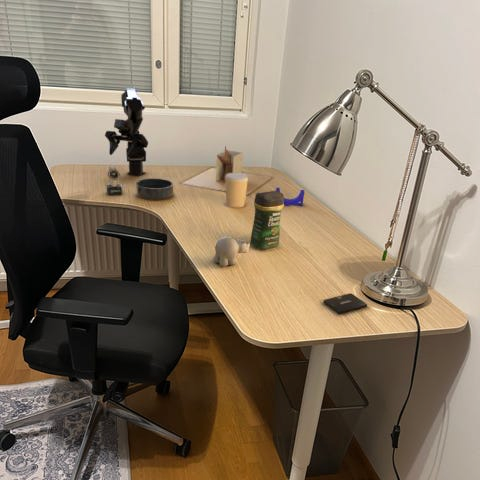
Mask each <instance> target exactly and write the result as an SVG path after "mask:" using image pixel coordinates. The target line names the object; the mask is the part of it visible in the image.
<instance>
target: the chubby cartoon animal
mask: <svg viewBox="0 0 480 480" xmlns="http://www.w3.org/2000/svg"><path fill="white" fill-rule="evenodd" d="M241 238H242V237H241V236H239V237H238V238H237V239H236V240H235V238H233V237H231V236H223V237H222V236H221V238H219V239H218V240H217V241H216V243H215V245H214V251H215V254H214V256H213V262H215V263H216V264H219V266H220V267H227V266H228V265H229V266H234V265H236V262H237V259H236V256H237V255H238V254H248V252H249V250H250V241H248V242H247V243H246V239H241Z"/></svg>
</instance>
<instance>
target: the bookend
mask: <svg viewBox="0 0 480 480" xmlns="http://www.w3.org/2000/svg"><path fill="white" fill-rule="evenodd" d="M243 155H244V153H243V152H241V151H236V150H235V151H234V150H229V149H227V146H224V150H223V151H219V152H218V153H216V159H215V160H216V162H215V163H216V165H215V167H214V168H215V181H216V182H218V181H220V180H222V179H223V180H224V181H225V180H226V178H225V176H226V175H227V174H228V173H242V174H245V173H246V172H242V171H243Z"/></svg>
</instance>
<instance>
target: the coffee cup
mask: <svg viewBox="0 0 480 480" xmlns="http://www.w3.org/2000/svg"><path fill="white" fill-rule="evenodd" d="M225 178H226V191H225V205H226V206H227V207H230V208H243V207H245V203H246V197H247V195H246V190H247V182H248V176H247V175H245V174H242V173H228V174H227V175H226V176H225Z"/></svg>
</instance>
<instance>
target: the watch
mask: <svg viewBox="0 0 480 480" xmlns="http://www.w3.org/2000/svg"><path fill="white" fill-rule="evenodd" d="M121 176H122V174H121V171H119V169H118V168H117V167H116V166H114V165H113V166H108V171H107V177H108V179H109V183H110V184H106V193H107V195H108V196H121V195H123V187H122V186H121V184H120V183H119V182H120V178H121Z"/></svg>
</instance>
